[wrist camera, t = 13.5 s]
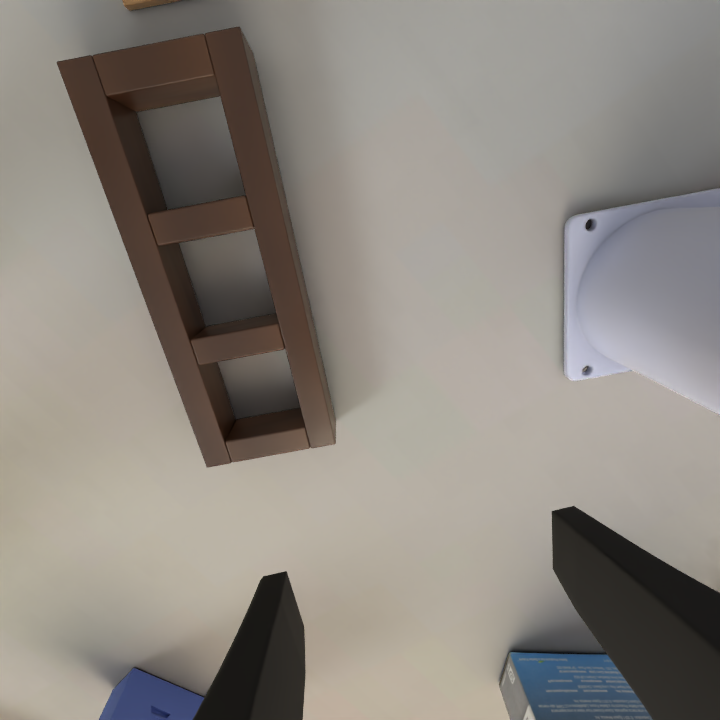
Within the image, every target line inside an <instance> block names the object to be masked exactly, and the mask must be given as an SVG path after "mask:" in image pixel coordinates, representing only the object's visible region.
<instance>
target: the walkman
mask: <svg viewBox="0 0 720 720" xmlns="http://www.w3.org/2000/svg"><path fill="white" fill-rule="evenodd" d="M203 699H204V697H202V696H199V695H197V694H195V693H192V692H190V691H188V690H185V689H183V688H181V687H178V686H176V685H173V684H171V683H169V682H166V681H164V680H162V679H159V678H157V677H155V676H152V675H150V674H147V673H145V672H143V671H140V670H138V669H136V668H133V669H132V670H131V671H130V672H129V673H128V674H127V675H126V677H125V678H124V679H123V680H122V681H121V682H120V683H119V684H118V685H117V686H116V687H115V688H114V689H113V691H112V693H111V695H110V697H109V699H108V701H107V703H106V706H105V708H104V710H103V712H102V714H101V716H100V718H99V720H193V718H194V716H195V714H196V712H197V711H198V709H199V707H200V705H201V703H202V701H203Z"/></svg>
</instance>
